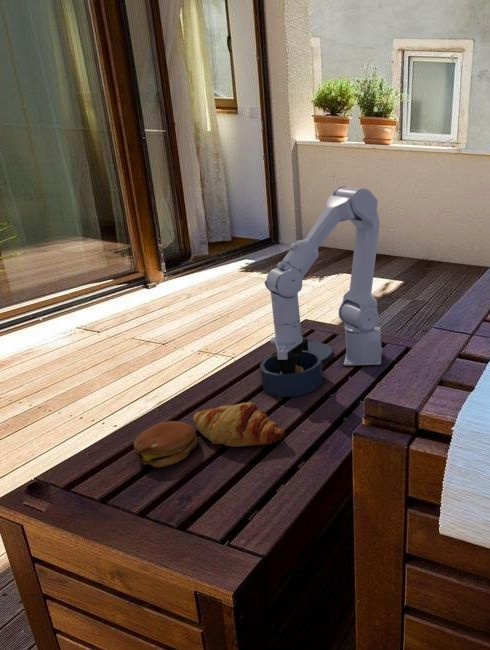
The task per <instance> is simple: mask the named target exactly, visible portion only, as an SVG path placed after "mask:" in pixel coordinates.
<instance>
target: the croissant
mask: <svg viewBox="0 0 490 650" xmlns="http://www.w3.org/2000/svg"><path fill="white" fill-rule="evenodd" d="M192 419H193V423H194V425H195V426H196V429H197V430H198V432H199V433H200V434H201V435H202V436H203V437H204V438H205V439H207V440H208V441H210V442H211V444H212V445H224V446H226V447H232V448H233V447H235V448H238V447H247V446H265V445H272V444H274V443H276V442H279V441H281V440H283V439H284V437H285V435H286V430H285V428H282V427H279V424H278V423H277V422H276V421H273V420H272V419H271V418H269V417H268V415H267V412H266V411H264V410H261V409H259V408H258V406H257V404H256V403H254V402H251V401H247V402H241V403H236V404H228V405H221V406H218V407H216V408H207V409H204V410H201V411H196V412H195V413H194V415H193V417H192Z"/></svg>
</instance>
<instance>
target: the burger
mask: <svg viewBox="0 0 490 650" xmlns="http://www.w3.org/2000/svg"><path fill="white" fill-rule="evenodd" d="M198 442H199V439H198V435H197V432H196V430H195V429H194V427H193V426H192V425H191V424H189V423H187V422H183V421H178V420H177V421H176V420H170V421H163V422H159V423H156V424H154V425H153V426H151V427H148V428H147V429H145V430H144V431H143V432H141V433H140V434H139V435H138V436H137V437H136V439H135V440H134V442H133V445H132V446H133V448H134V450H136V451H135V456H137V457H138V458H137V462H139V463H142V464H143V465H150V466H151V467H154V468H165V467H170V466H173V465H174V464H177V463H180V462H181V461H183V460H185V458H187V457H188V456H189V455H190V452H192V451H193V450H194V449H195V448H196V446H197V444H198Z"/></svg>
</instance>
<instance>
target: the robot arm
mask: <svg viewBox="0 0 490 650" xmlns="http://www.w3.org/2000/svg"><path fill="white" fill-rule="evenodd" d="M378 203H379V199H377V197H376V196H375V195H374V193H372V191H371V190H369V189H368V188H362V187H361V188H358V187H349V186H346V185H341V186H338V187H336V188H335V189H334V191H333V192H332V193H331V195H330V196H329V197H328V198H327V201H326V205H325V207H324V208H323V210H322V212H321V214H320V215H319V216H318V217H317V220H316V221H315V222H314V224H313V226H312V227H311V229H310V231H308V234H307V235H306V236H305V238H304V239H298V240H296V241H295V243H294V242H292V243H291V244H290V245H289V249H290V250H289V251H288V252H287V253H286V255H285V256H284V258H283V259H282V260H281V261H278V263H277V264H276V266H277V267H275V268H272V269H271V270H270V271H269V272H268V273H267V275H266V279H265V280H264V281H263V282H264V287H266V289H267V290H268V291H269V292H270V299H271V300H270V301H271V311H272V318H273V329H274V336H275V337H271V338H270V344H274V345H275V347H276V351H274V352H273V354H272V355H273V360H274V361H275V362H276V363H277V365H278V366H279V368H280V370H281V373H282V374H291V373H296V365H297V366H300V362H301V354H302V349H303V346H304V343H305V339H303V337H304V336H303V335H302V324H301V315H300V313H301V312H300V303H299V292H301V291H302V288H303V280H304V278H305V275H307V273H308V271H309V270H310V268H311V267H312V266H313V265H314V263H315V262H316V260H317V259H318V258H319V247H320V246H322V244H323V243H324V241H325V240H326V239H327V238H328V236H329V235H330V234H331V233H332V232H333V231H334V229H336V227H337V226H338V224H339V223H341V222H346V221H350V222H351V223H352V224H353V225H354V226H355V228H356V230H355V237H354V238H355V239H354V248H353V255H352V265H351V275H350V284H349V290H348V291H346V292H345V293H344V295H343V297H342V302H341V304H340V305H339V307H338V317H339V319H340V320H341V321H342V322H343V326H344V336H345V337H344V339H345V340H344V341H345V357H344V361H343V366H345V367H347V366H349V367H350V366H380V365H382V357H383V353H384V352H383V351H384V349H383V347H382V328H381V327H378V326H377V324H378V323H379V312H378V301H377V300H376V298H375V297H374V295H373V293H372V289H373V283H374V274H375V266H376V265H375V264H376V260H377V259H376V257H377V251H378V242H379V235H380V234H379V233H380V225H381V223H380V222H381V221H380V217H379V213H378Z"/></svg>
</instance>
